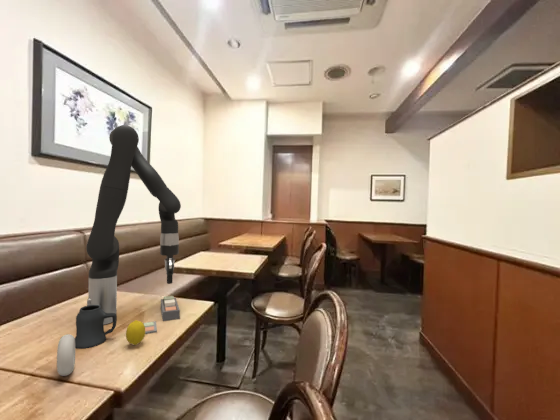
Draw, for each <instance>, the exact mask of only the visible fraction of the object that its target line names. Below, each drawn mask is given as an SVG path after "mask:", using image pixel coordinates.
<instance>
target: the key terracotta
mask: <svg viewBox="0 0 560 420" xmlns="http://www.w3.org/2000/svg"><path fill="white" fill-rule="evenodd" d="M171 310H177V309H176V306H173V307H165V311H171Z"/></svg>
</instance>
